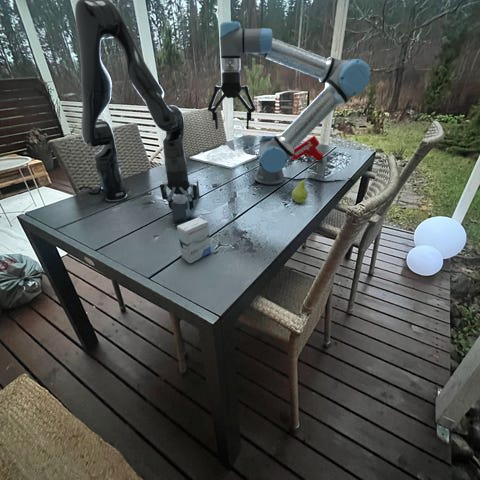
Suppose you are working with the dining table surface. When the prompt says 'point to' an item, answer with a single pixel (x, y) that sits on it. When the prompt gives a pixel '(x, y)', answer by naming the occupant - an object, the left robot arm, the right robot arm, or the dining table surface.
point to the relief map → (224, 157)
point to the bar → (183, 205)
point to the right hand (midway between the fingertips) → (232, 128)
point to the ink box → (194, 239)
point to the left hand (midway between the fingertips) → (181, 208)
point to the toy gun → (308, 149)
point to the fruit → (300, 192)
